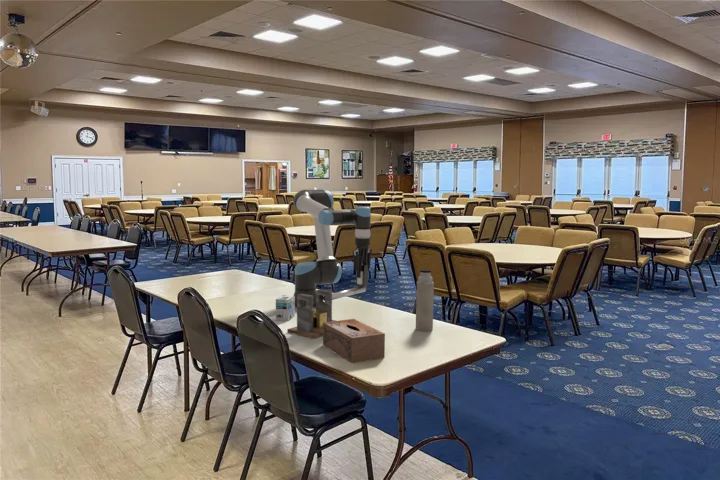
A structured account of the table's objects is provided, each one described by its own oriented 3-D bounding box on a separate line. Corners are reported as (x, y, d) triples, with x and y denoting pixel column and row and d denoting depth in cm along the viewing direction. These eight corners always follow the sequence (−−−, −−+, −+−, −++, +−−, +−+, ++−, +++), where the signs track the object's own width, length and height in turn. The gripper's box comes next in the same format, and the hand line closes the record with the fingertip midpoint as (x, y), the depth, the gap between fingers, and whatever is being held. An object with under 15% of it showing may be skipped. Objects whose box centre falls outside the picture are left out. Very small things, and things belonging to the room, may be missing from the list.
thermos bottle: (417, 326, 265) (419, 268, 262) (434, 327, 262) (435, 269, 259) (413, 330, 258) (415, 270, 255) (430, 331, 255) (432, 271, 252)
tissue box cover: (323, 345, 232) (323, 322, 231) (353, 341, 239) (353, 318, 238) (351, 363, 210) (352, 338, 209) (384, 358, 217) (384, 333, 216)
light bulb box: (288, 321, 271) (288, 299, 270) (275, 320, 272) (275, 298, 271) (295, 316, 281) (295, 295, 280) (282, 315, 282) (282, 294, 281)
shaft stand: (324, 321, 272) (325, 285, 270) (350, 326, 262) (350, 289, 260) (287, 332, 251) (287, 293, 249) (313, 338, 241) (314, 298, 240)
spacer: (315, 324, 259) (315, 310, 259) (326, 327, 255) (327, 312, 254) (308, 326, 255) (308, 311, 255) (319, 329, 251) (319, 314, 250)
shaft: (359, 291, 284) (360, 264, 282) (367, 292, 281) (368, 265, 279) (321, 300, 260) (321, 271, 258) (329, 302, 257) (329, 272, 255)
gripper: (366, 235, 287) (365, 280, 289) (346, 238, 274) (346, 284, 276) (377, 236, 282) (377, 282, 285) (358, 239, 269) (358, 286, 272)
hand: (362, 283), depth 281 cm, fingers closed on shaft, 3 cm apart
